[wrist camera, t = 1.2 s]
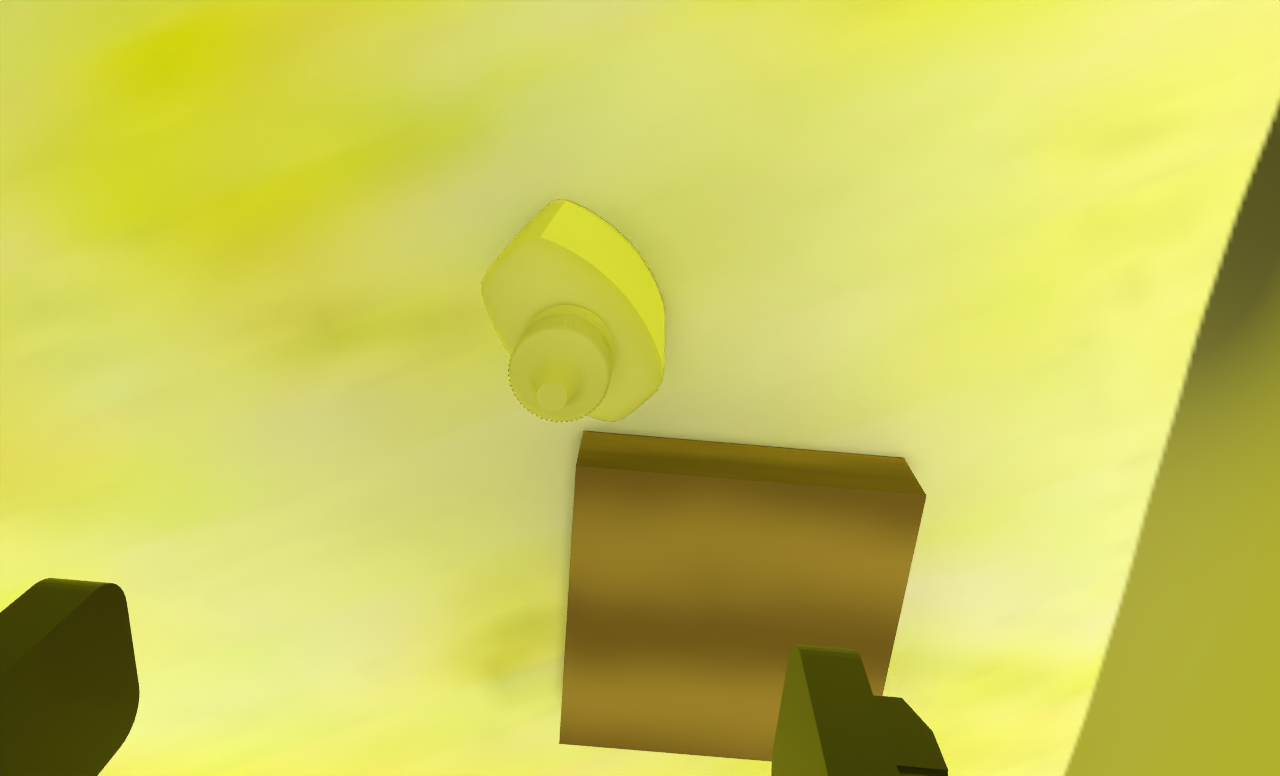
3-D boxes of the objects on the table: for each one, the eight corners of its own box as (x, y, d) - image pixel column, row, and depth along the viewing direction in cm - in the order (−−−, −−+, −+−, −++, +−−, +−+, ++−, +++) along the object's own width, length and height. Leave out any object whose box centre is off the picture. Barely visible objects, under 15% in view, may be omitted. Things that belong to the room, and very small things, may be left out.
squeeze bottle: (636, 179, 29) (619, 252, 18) (671, 336, 31) (675, 490, 20) (511, 208, 30) (418, 296, 18) (553, 360, 31) (492, 525, 20)
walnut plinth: (583, 431, 32) (576, 465, 30) (903, 458, 32) (926, 495, 30) (567, 691, 37) (559, 743, 34) (850, 715, 37) (866, 769, 34)
